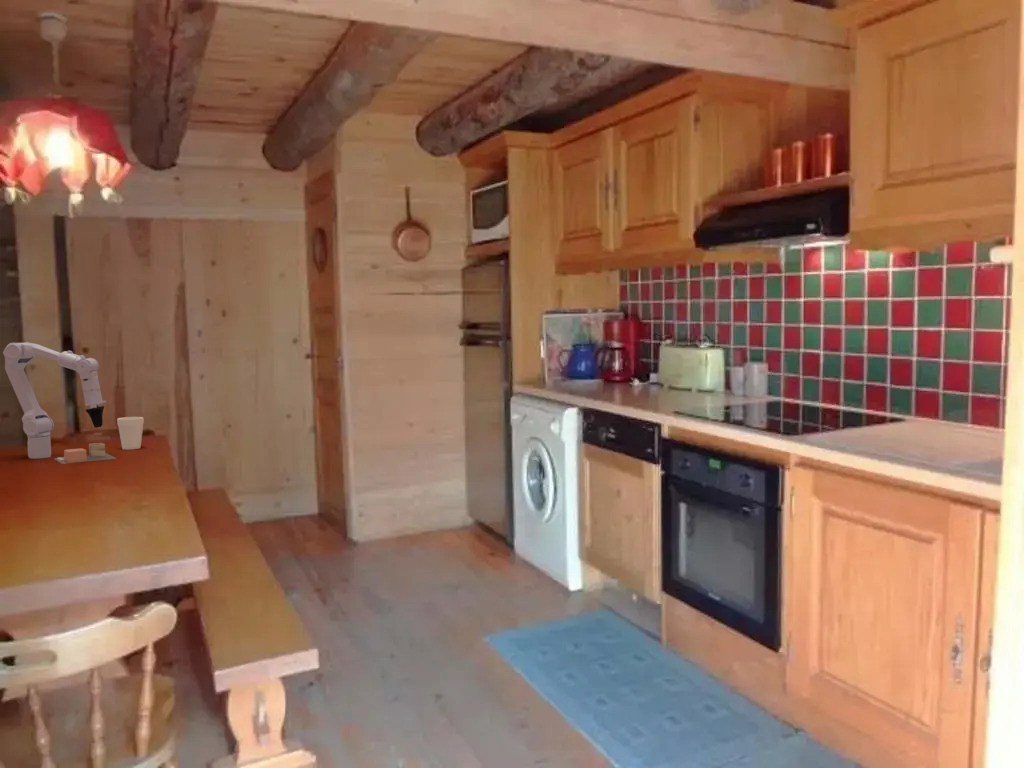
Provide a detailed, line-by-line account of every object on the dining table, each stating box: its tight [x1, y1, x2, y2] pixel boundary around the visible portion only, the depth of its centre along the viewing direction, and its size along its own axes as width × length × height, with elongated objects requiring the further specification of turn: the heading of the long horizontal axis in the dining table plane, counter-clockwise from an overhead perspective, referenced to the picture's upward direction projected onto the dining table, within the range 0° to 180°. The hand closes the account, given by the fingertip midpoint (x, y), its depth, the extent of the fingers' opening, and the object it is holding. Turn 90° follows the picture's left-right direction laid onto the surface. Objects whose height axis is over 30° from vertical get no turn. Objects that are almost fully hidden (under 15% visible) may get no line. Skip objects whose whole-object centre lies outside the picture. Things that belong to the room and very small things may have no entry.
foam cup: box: [116, 416, 145, 450], centre depth 318 cm, size 10×9×13 cm
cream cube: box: [88, 442, 106, 457], centre depth 300 cm, size 4×4×4 cm
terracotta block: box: [63, 447, 88, 464], centre depth 289 cm, size 6×6×4 cm
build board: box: [53, 452, 117, 465], centre depth 294 cm, size 14×18×1 cm
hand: (98, 426), depth 296 cm, fingers open, 7 cm apart
